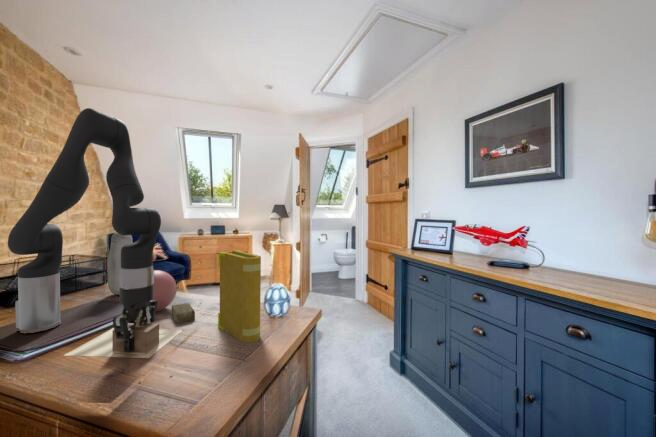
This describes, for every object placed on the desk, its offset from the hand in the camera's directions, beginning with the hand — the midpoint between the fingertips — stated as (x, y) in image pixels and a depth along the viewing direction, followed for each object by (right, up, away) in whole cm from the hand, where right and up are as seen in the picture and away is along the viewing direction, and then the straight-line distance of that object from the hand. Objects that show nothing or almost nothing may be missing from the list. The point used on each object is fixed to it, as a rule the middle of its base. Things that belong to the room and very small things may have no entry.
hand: (136, 346), depth 75 cm
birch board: (-5, -2, +4) cm, 7 cm away
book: (+23, -2, +15) cm, 28 cm away
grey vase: (-40, 0, +50) cm, 64 cm away
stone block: (+1, -2, +23) cm, 23 cm away
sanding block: (0, -1, 0) cm, 1 cm away
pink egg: (-17, -1, +32) cm, 36 cm away
